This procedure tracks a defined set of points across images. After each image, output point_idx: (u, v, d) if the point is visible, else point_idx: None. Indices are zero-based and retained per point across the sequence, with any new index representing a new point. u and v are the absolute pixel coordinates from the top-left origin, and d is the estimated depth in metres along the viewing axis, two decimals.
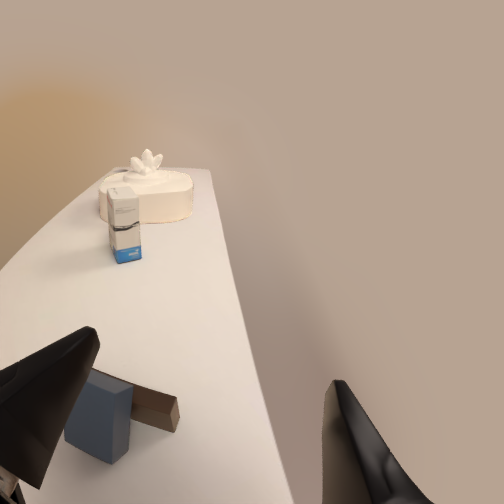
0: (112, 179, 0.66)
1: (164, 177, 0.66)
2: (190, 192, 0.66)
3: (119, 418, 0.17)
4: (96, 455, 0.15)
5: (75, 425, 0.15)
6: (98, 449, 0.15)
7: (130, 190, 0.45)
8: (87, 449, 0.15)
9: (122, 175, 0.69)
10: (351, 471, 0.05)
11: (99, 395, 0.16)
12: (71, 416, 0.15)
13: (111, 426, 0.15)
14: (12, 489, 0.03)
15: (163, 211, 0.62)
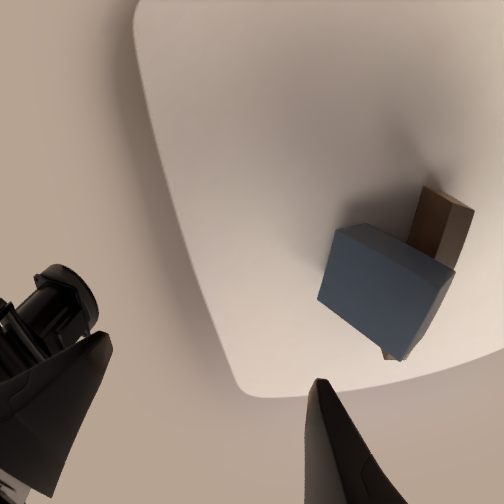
0: None
1: None
2: None
3: None
4: (325, 282, 0.17)
5: (361, 268, 0.14)
6: (333, 291, 0.16)
7: None
8: (331, 271, 0.16)
9: None
10: (329, 472, 0.05)
11: (401, 338, 0.13)
12: (374, 267, 0.14)
13: (362, 332, 0.15)
14: (24, 498, 0.03)
15: None
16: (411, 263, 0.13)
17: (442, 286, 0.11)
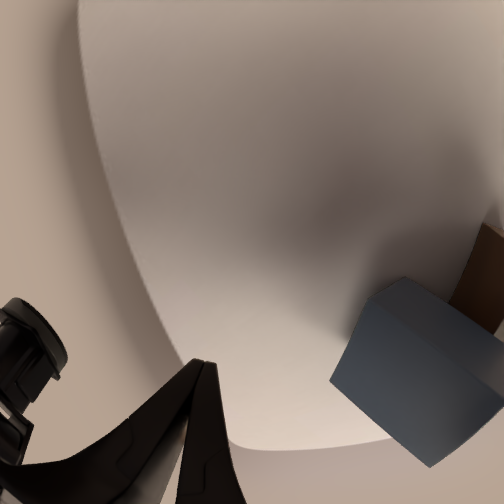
0: None
1: None
2: None
3: None
4: (343, 364, 0.11)
5: (401, 361, 0.08)
6: (354, 379, 0.10)
7: None
8: (353, 353, 0.10)
9: None
10: None
11: (438, 447, 0.07)
12: (420, 363, 0.08)
13: (387, 432, 0.09)
14: None
15: None
16: (473, 357, 0.07)
17: None
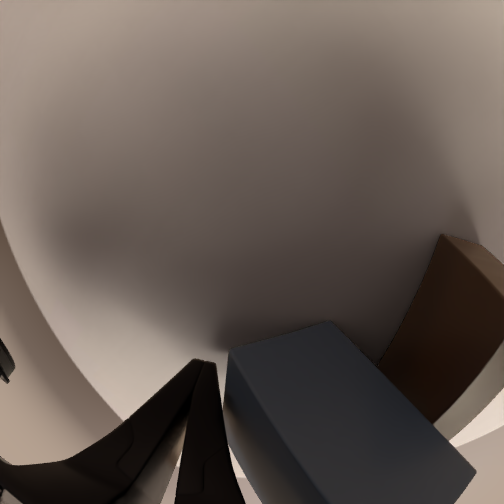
0: None
1: None
2: None
3: None
4: (224, 417, 0.08)
5: (261, 444, 0.06)
6: (233, 438, 0.08)
7: None
8: (228, 409, 0.08)
9: None
10: None
11: None
12: (279, 459, 0.05)
13: None
14: None
15: None
16: (365, 483, 0.04)
17: None
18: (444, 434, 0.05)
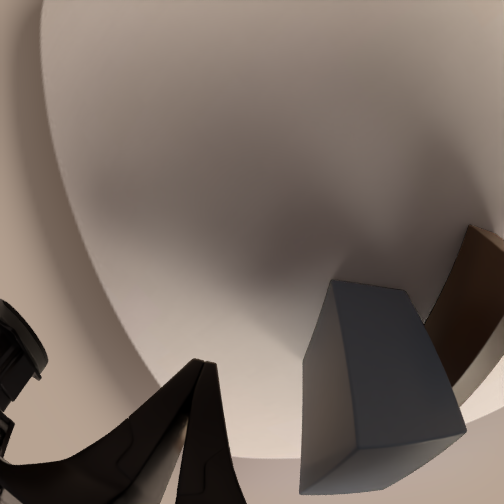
0: None
1: None
2: None
3: None
4: (310, 345, 0.12)
5: (327, 346, 0.09)
6: (309, 361, 0.11)
7: None
8: (315, 334, 0.11)
9: None
10: None
11: (310, 470, 0.07)
12: (333, 351, 0.08)
13: (302, 429, 0.09)
14: None
15: None
16: (378, 374, 0.06)
17: (376, 446, 0.04)
18: (481, 371, 0.07)
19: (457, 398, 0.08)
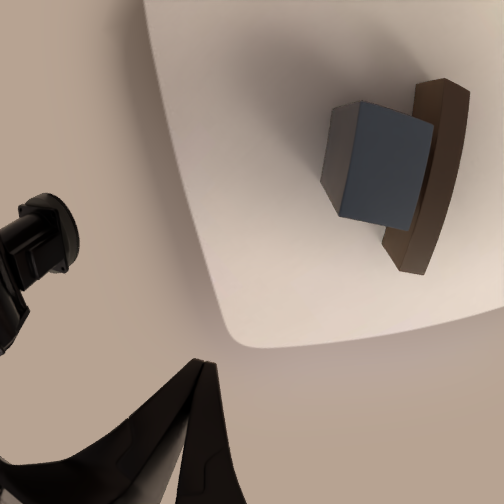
0: None
1: None
2: None
3: None
4: (324, 160, 0.16)
5: (335, 129, 0.14)
6: (325, 165, 0.16)
7: None
8: (327, 147, 0.16)
9: None
10: None
11: (342, 182, 0.11)
12: (339, 121, 0.13)
13: (328, 195, 0.14)
14: None
15: None
16: None
17: (371, 104, 0.09)
18: (450, 156, 0.12)
19: (442, 184, 0.12)
